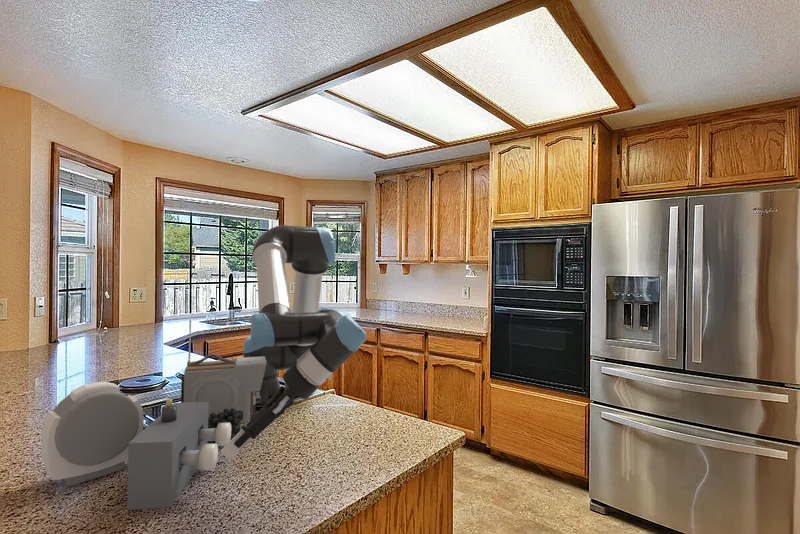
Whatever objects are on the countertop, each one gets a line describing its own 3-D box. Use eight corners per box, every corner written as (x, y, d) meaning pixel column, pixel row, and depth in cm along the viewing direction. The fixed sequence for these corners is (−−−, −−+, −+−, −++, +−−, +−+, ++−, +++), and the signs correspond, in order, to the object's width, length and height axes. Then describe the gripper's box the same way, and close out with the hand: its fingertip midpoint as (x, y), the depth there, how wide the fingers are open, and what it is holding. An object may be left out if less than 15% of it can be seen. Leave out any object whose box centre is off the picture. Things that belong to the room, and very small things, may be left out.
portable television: (265, 421, 130) (267, 323, 129) (178, 431, 121) (180, 325, 121) (263, 408, 141) (264, 318, 140) (182, 416, 132) (184, 320, 132)
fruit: (182, 412, 110) (244, 406, 114) (189, 412, 118) (246, 407, 122) (180, 448, 108) (243, 441, 112) (187, 445, 115) (246, 439, 120)
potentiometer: (164, 417, 96) (164, 397, 96) (178, 417, 96) (178, 397, 96) (158, 422, 93) (159, 401, 93) (173, 422, 93) (173, 401, 93)
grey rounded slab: (132, 454, 106) (133, 373, 106) (145, 465, 100) (146, 380, 100) (38, 482, 92) (40, 389, 92) (48, 496, 86) (49, 397, 86)
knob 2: (181, 464, 92) (182, 440, 92) (217, 463, 93) (218, 439, 93) (172, 476, 87) (173, 451, 87) (211, 474, 88) (211, 449, 88)
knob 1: (199, 441, 104) (199, 420, 104) (231, 440, 105) (231, 419, 105) (192, 450, 99) (192, 428, 99) (225, 449, 100) (226, 427, 100)
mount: (173, 454, 106) (174, 402, 106) (207, 453, 107) (208, 401, 107) (127, 510, 82) (128, 443, 82) (171, 507, 84) (172, 441, 83)
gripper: (318, 395, 87) (231, 481, 84) (320, 378, 100) (245, 452, 97) (292, 370, 86) (203, 456, 84) (297, 356, 99) (221, 430, 96)
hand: (226, 454), depth 90 cm, fingers closed
